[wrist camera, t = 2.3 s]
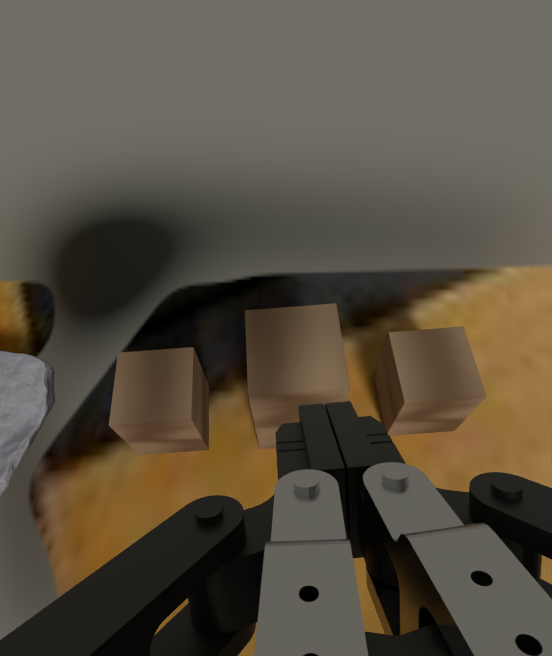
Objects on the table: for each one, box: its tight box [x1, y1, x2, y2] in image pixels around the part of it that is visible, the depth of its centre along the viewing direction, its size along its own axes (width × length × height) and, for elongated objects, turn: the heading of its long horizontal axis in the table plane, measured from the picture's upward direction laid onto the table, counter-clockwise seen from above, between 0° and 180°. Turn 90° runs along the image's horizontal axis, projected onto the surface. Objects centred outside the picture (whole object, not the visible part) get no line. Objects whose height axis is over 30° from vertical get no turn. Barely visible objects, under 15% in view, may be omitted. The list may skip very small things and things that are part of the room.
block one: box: [374, 327, 486, 436], centre depth 32 cm, size 5×5×6 cm
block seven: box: [109, 347, 209, 455], centre depth 32 cm, size 5×5×6 cm
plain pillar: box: [245, 304, 350, 449], centre depth 30 cm, size 6×6×10 cm
